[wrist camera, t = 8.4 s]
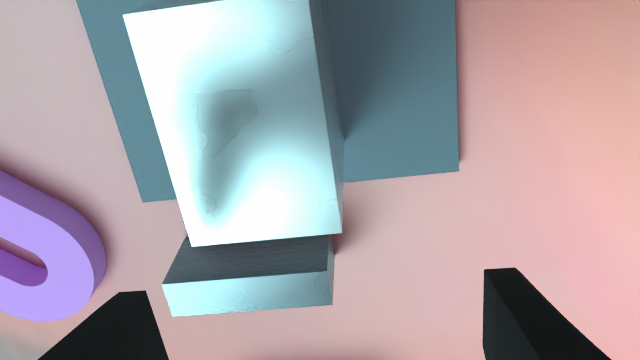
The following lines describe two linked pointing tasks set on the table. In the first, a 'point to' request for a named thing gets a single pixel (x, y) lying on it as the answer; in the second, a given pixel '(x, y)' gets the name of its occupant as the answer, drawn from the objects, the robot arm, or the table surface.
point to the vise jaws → (251, 276)
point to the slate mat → (352, 82)
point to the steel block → (245, 114)
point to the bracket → (46, 255)
